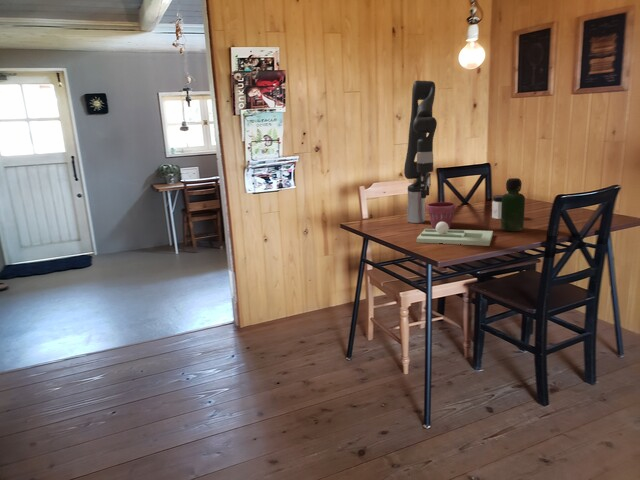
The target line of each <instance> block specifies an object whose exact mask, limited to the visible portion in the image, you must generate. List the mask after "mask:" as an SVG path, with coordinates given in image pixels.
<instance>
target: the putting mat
mask: <svg viewBox="0 0 640 480" xmlns="http://www.w3.org/2000/svg"><path fill="white" fill-rule="evenodd" d="M493 235H494V231H493V230H476V229H475V230H474V229H473V230H472V229H448V232H447V233H445V234H439V233H438V232H437V231H436V229H432V228H424V229H423V231H422V232H421V233H420V234H419V235H418V236H417V237H416V243H417V244H418V243H423V244H439V243H443V244H444V245H460V244H461V245H463V246H469V245H470V246H484V247H488V246H489V247H490V245H491V241H492V240H493V239H492V238H493ZM443 244H442V245H443ZM461 245H460V246H461Z"/></svg>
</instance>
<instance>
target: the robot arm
mask: <svg viewBox="0 0 640 480" xmlns="http://www.w3.org/2000/svg"><path fill="white" fill-rule="evenodd" d="M411 95H412V96H411V111H410V112H411V114H410V121H409V127H408V128H409V129H408V141H407V149H406V150H407V151H406V157H405V161H404V169H403V172H404V173H403V174H404V177H405V178H406V179H407V180H413V179H415V181H413V182H412V183H411V184H409V185H407V205H406V222H407V223H413V224H419V223H425V222H426V209H425V208H426V207H425V206H426V203H425V202H426V198H427V197H428V196H430V187H431V175H432V172H434V151H433V149H434V147H433V146H434V145H433V143H434V136H435V133H436V131H437V130H436V129H437V124H438V123H437V119H436V118H435V117H433V107H434V101H435V95H436V84H435V82H434V81H432V80H415V81H414V82H413V85H412V94H411ZM419 101H421V102H420V103H419ZM415 160H416V161H415Z"/></svg>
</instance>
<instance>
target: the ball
mask: <svg viewBox="0 0 640 480" xmlns="http://www.w3.org/2000/svg"><path fill="white" fill-rule="evenodd" d="M448 229H449V226H448V224H447V223H445V222H439V223H438V224H437V225H436V231H437V232H438V233H439V234H445V233H447V232H448ZM449 230H450V229H449Z"/></svg>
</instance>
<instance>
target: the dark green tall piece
mask: <svg viewBox="0 0 640 480" xmlns="http://www.w3.org/2000/svg"><path fill="white" fill-rule="evenodd" d="M505 189H506V192H507V193H505V194H502V195H503V196H502V207H501V219H500V229H501V230H502V231H505V232H521V231H524V228H525V226H524V225H525V205H526V198H525V196H524V194H522V193H520V192H521V190H522V179H520V178H517V177H515V178H514V177H513V178H512V177H511V178H508V179H507V180H506V183H505Z"/></svg>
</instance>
